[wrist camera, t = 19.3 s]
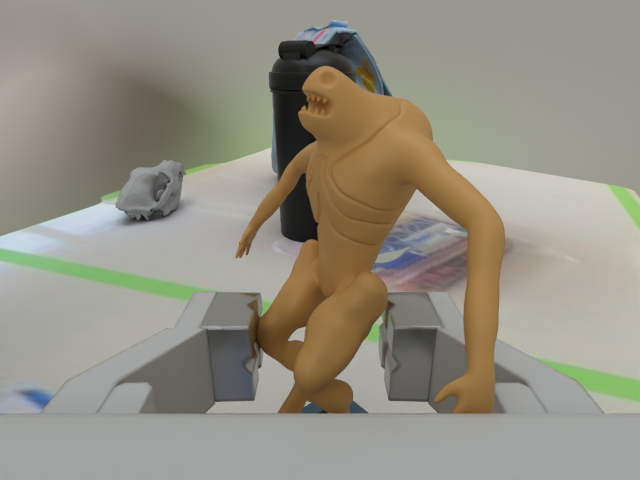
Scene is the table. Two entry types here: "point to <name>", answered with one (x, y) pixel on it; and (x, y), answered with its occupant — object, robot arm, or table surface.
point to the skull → (152, 190)
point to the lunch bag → (352, 51)
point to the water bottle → (298, 123)
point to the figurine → (370, 241)
